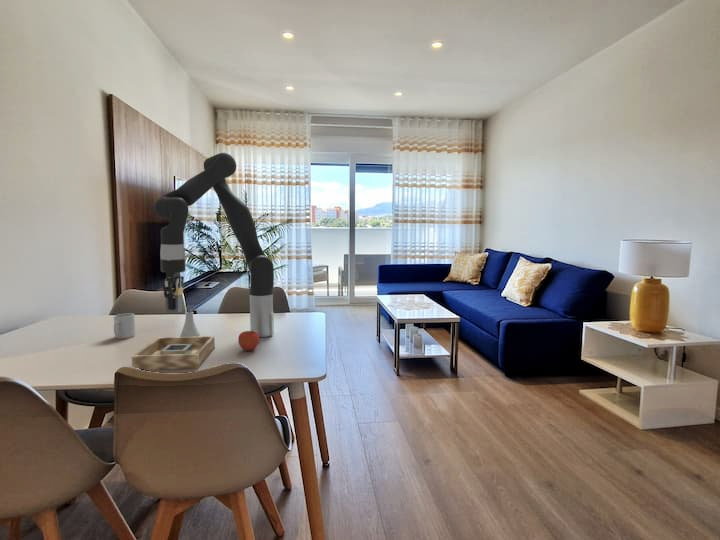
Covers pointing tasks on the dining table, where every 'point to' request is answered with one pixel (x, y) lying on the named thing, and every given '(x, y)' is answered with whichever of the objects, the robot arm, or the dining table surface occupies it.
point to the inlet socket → (177, 349)
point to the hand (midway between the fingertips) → (174, 307)
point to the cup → (124, 325)
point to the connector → (178, 301)
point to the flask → (189, 326)
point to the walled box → (154, 361)
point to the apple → (248, 340)
